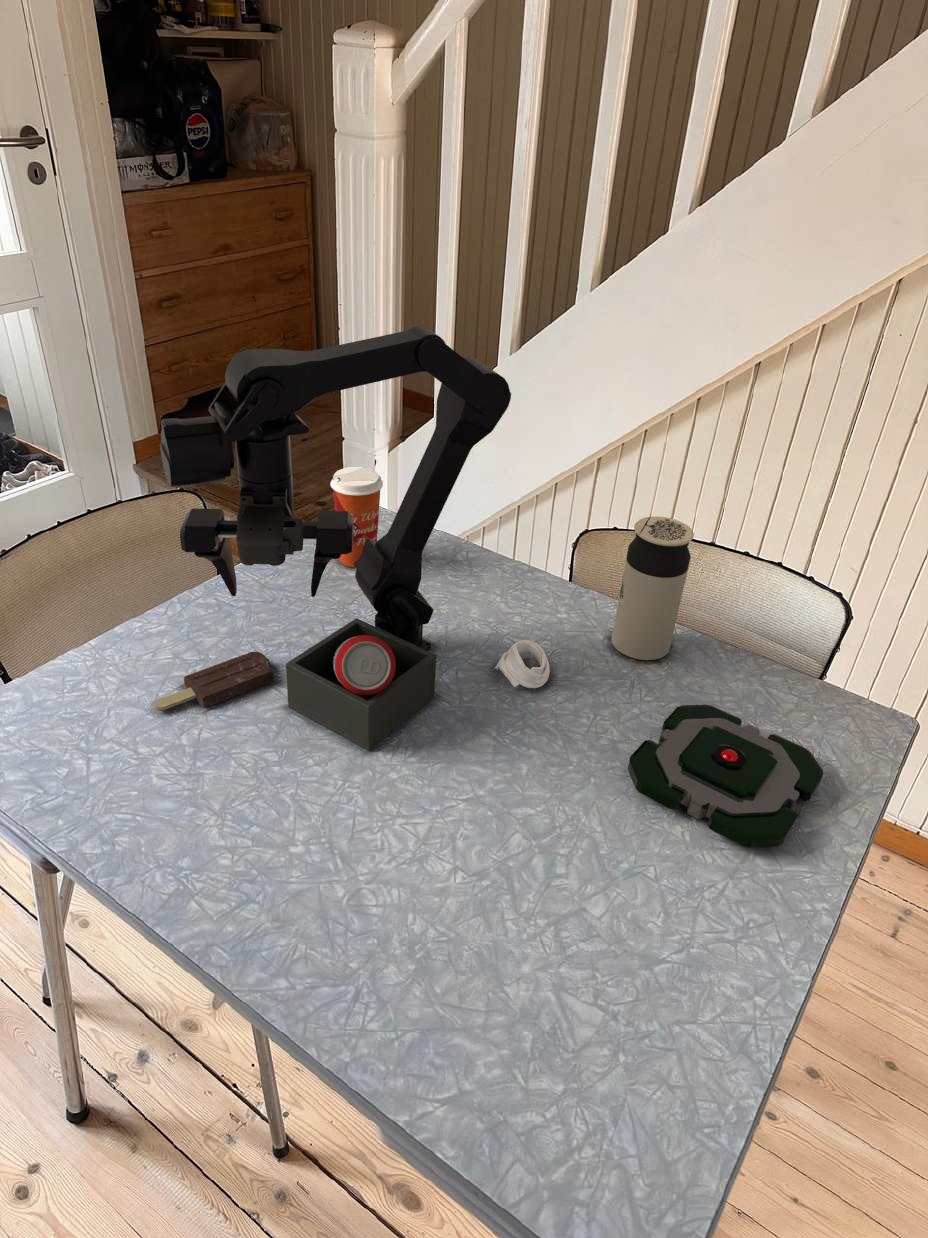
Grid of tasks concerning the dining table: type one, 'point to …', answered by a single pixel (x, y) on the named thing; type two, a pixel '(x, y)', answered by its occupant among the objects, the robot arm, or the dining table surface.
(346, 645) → the beverage can
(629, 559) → the travel mug
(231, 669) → the ice cream bar
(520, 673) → the white bandage roll
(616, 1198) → the dining table surface
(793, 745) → the clover-shaped pad
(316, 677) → the trash bin
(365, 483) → the paper cup
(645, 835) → the dining table surface
